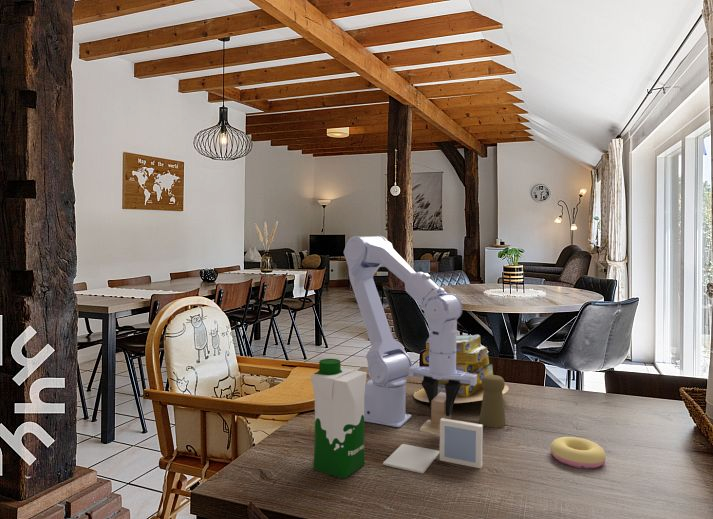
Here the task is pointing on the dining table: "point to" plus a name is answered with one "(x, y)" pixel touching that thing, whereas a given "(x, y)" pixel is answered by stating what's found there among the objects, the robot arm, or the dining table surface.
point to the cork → (492, 402)
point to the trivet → (411, 458)
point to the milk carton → (338, 418)
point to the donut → (578, 452)
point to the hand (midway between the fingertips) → (441, 413)
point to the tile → (461, 442)
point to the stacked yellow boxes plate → (465, 369)
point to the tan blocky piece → (436, 414)
